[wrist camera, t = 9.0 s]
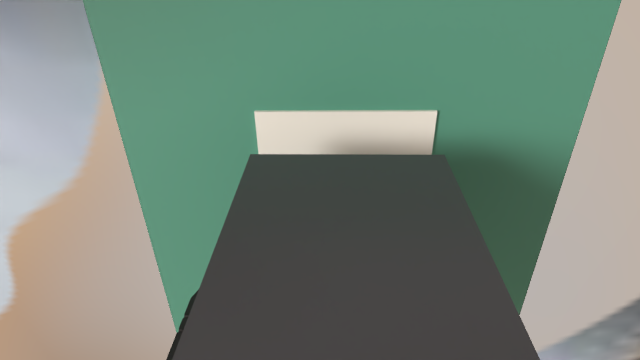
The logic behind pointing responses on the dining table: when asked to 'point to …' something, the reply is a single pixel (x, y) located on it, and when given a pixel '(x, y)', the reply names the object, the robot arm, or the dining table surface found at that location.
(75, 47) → the dining table surface
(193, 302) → the robot arm
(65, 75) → the dining table surface
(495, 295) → the block
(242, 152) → the header board
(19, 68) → the dining table surface
